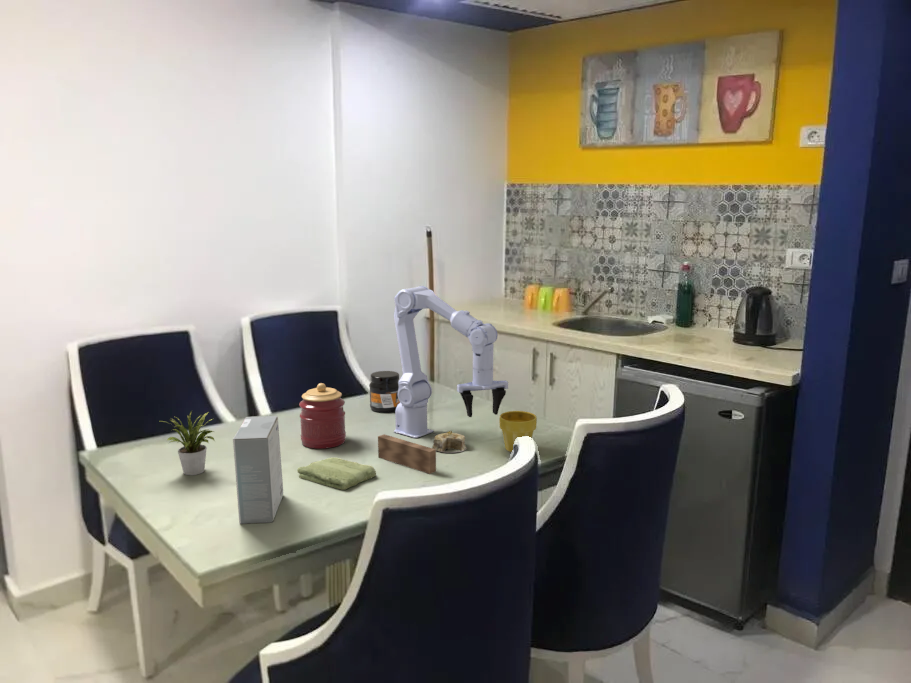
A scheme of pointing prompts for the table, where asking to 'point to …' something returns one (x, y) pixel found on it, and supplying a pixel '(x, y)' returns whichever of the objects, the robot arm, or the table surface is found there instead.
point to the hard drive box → (258, 469)
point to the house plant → (192, 446)
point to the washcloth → (336, 473)
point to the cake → (449, 442)
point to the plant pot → (516, 426)
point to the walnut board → (407, 453)
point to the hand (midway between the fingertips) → (482, 414)
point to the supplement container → (384, 391)
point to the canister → (322, 418)
